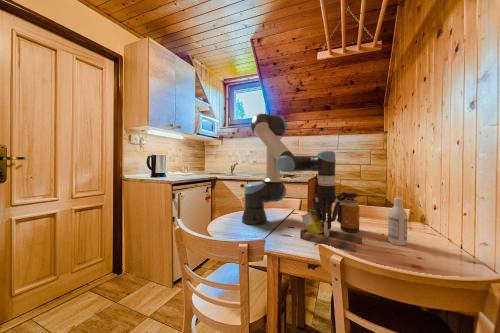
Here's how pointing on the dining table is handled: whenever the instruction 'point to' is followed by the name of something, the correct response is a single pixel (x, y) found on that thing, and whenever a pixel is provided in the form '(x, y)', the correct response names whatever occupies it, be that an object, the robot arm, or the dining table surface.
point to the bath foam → (397, 224)
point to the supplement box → (313, 223)
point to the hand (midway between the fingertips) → (326, 235)
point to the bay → (332, 241)
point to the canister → (348, 212)
